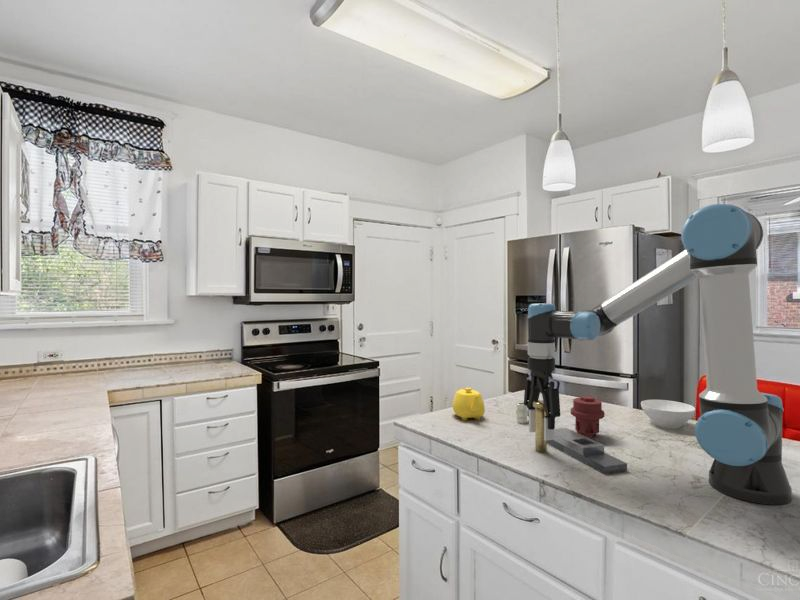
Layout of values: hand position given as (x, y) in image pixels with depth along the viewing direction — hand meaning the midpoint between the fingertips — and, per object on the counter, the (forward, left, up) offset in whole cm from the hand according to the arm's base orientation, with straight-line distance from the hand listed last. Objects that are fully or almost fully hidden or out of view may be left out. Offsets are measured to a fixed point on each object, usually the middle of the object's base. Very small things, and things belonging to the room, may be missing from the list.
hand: (541, 435), depth 128 cm
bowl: (+7, -55, -5) cm, 56 cm away
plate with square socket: (-7, -9, -5) cm, 12 cm away
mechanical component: (+7, -22, -5) cm, 24 cm away
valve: (+27, -14, -5) cm, 31 cm away
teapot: (+37, +5, -5) cm, 38 cm away
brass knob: (0, 0, -5) cm, 5 cm away
